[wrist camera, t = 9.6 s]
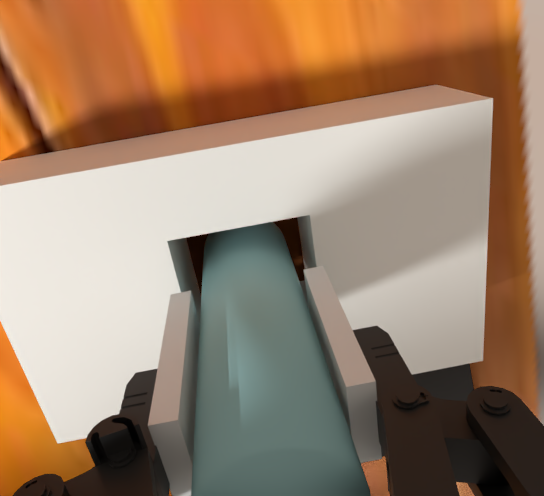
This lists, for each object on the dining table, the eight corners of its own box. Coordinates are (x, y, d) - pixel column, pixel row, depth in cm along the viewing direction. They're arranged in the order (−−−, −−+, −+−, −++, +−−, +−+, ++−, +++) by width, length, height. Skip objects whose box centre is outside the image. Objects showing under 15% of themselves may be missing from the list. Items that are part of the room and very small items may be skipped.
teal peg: (213, 295, 24) (210, 589, 11) (195, 221, 22) (170, 470, 10) (291, 280, 24) (376, 555, 11) (280, 206, 23) (364, 431, 10)
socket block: (84, 373, 27) (57, 443, 22) (0, 161, 22) (-58, 196, 17) (438, 305, 27) (483, 360, 23) (436, 84, 22) (493, 98, 18)
